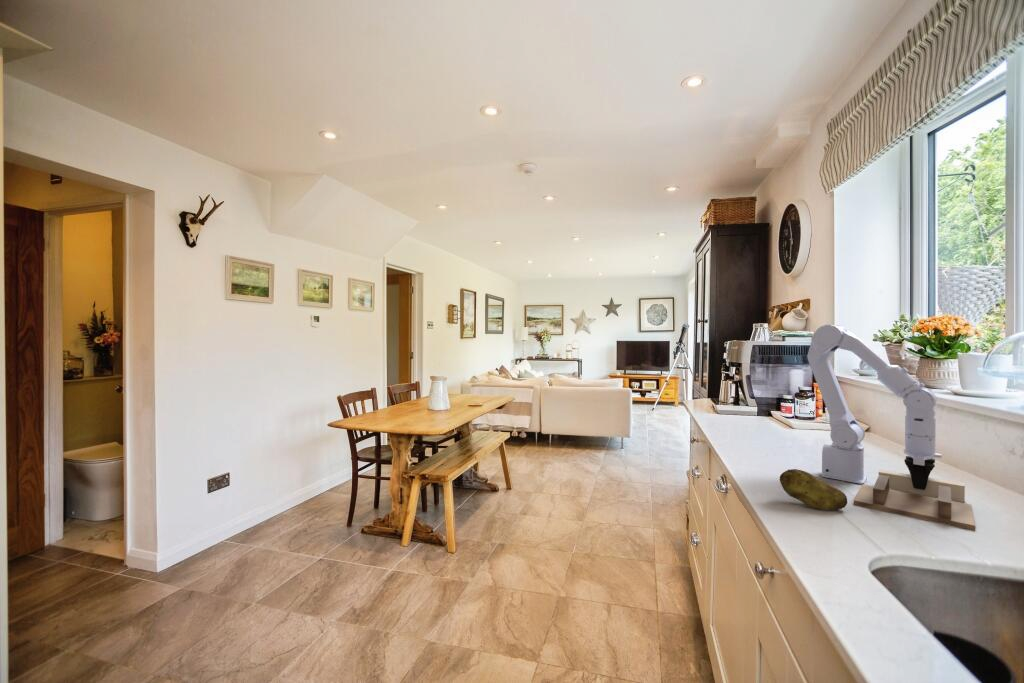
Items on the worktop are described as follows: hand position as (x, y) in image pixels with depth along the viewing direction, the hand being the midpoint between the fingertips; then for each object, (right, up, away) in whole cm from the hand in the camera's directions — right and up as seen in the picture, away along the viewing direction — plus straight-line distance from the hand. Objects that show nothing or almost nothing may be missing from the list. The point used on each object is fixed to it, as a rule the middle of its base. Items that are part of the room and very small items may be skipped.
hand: (919, 487), depth 112 cm
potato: (-34, -2, -9) cm, 35 cm away
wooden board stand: (-11, -2, -9) cm, 14 cm away
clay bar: (0, -2, 0) cm, 2 cm away
